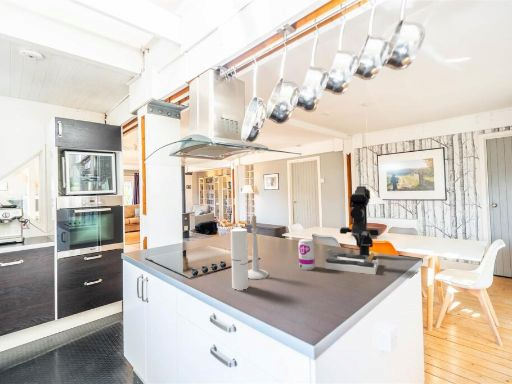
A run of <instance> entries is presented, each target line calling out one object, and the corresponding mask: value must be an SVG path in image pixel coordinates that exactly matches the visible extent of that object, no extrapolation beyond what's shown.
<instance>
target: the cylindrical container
mask: <svg viewBox="0 0 512 384" xmlns="http://www.w3.org/2000/svg"><path fill="white" fill-rule="evenodd" d="M248 250H249V249H248V229H247V228H234V229H230V255H231V257H230V258H231V288H234V289H237V290H236V291H244V290H243V289H246V290H247V288H248V287H249V279H248V270H249V258H248V257H249V254H248V252H249V251H248ZM234 289H233V290H234ZM248 289H249V288H248Z"/></svg>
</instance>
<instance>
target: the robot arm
mask: <svg viewBox="0 0 512 384" xmlns="http://www.w3.org/2000/svg"><path fill="white" fill-rule="evenodd" d="M349 199H350V200H349V208H352V210H351V211H350V217H351V218H352V224H351V228H350V227H347V226H346V227H345V226H343V227H341V228H340V229H339V234H341V235H342V234H344V235H347V234H348V233H350V234H351V237H354V239H355V242H356V247H357V248H358V250H359V251H358V253H359V254H358V255H367V256H370V254H371V253H370V248H373V247H374V243H373V239H372V237H371V236H379V235H380V229H379V228H372V227H371V228H370V229H368V214H367V213H368V209H367V207H368V204H369V203H370V200H371V191H370V190H369V189H368V188H367V186H365V185H361V186H359V185H358V186H356V189H355V190H354V192H353V193H352V194H351V196H350V198H349Z"/></svg>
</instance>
